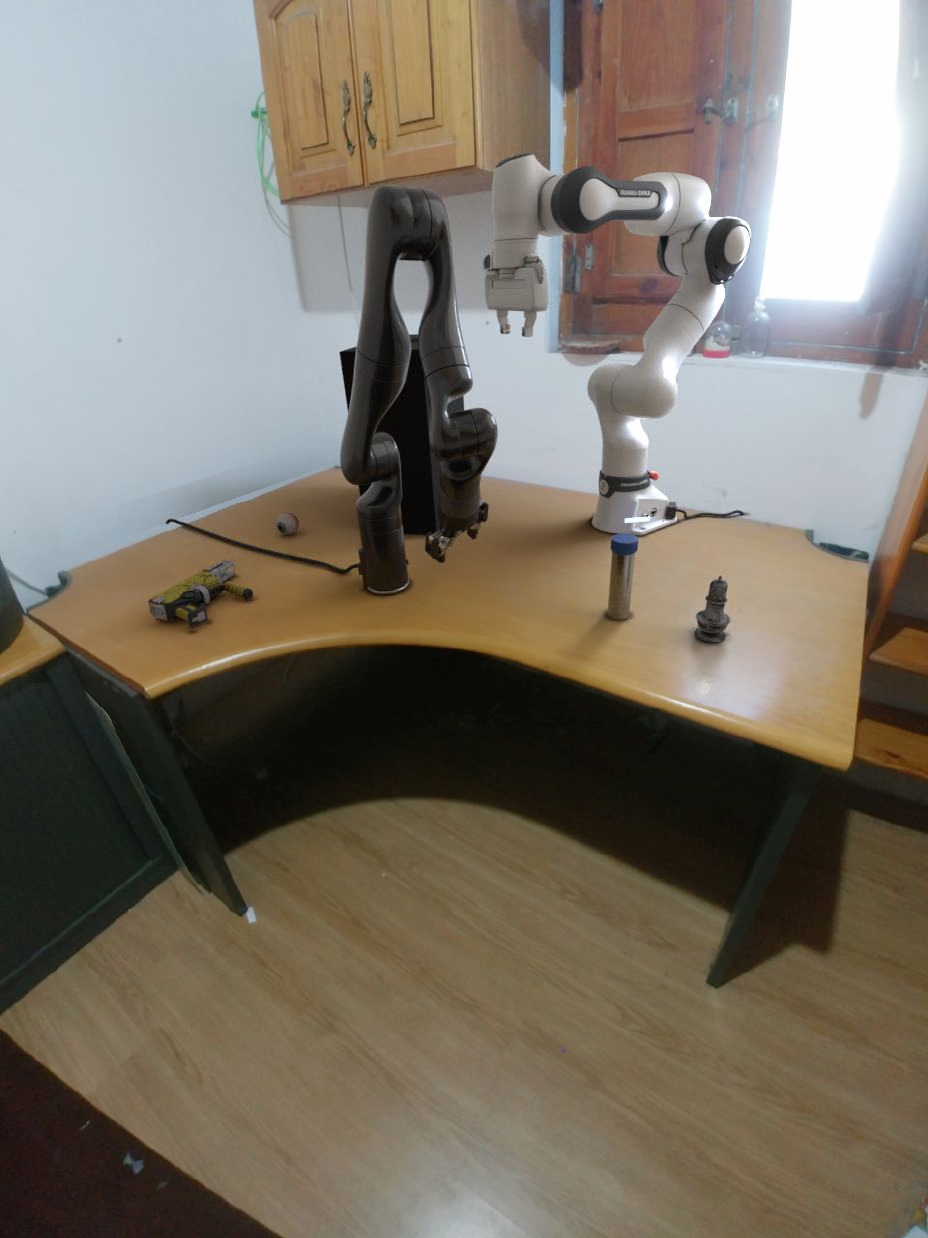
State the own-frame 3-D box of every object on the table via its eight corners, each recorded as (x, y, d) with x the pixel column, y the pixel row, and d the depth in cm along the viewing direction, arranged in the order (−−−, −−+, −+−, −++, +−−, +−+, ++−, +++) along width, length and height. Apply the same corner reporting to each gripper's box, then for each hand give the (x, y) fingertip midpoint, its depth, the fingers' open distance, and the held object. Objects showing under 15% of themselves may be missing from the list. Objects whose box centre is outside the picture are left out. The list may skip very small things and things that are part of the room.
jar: (604, 610, 120) (609, 537, 112) (624, 608, 121) (630, 535, 113) (612, 621, 117) (618, 546, 109) (632, 618, 117) (640, 543, 109)
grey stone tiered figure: (729, 644, 107) (742, 583, 101) (695, 641, 108) (705, 582, 102) (724, 627, 112) (735, 568, 106) (691, 625, 113) (700, 567, 107)
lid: (606, 546, 113) (607, 534, 112) (631, 543, 114) (632, 531, 113) (616, 556, 109) (617, 544, 108) (641, 553, 110) (643, 541, 109)
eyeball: (273, 537, 164) (268, 516, 161) (287, 528, 169) (282, 508, 166) (291, 539, 161) (286, 518, 158) (305, 530, 166) (301, 510, 163)
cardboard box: (436, 534, 159) (422, 349, 137) (364, 531, 164) (339, 351, 141) (468, 489, 191) (460, 332, 168) (407, 487, 195) (391, 335, 173)
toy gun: (275, 568, 138) (221, 556, 142) (203, 614, 118) (142, 599, 122) (277, 586, 140) (223, 575, 144) (207, 635, 120) (146, 620, 124)
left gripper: (474, 466, 111) (469, 517, 125) (414, 507, 106) (416, 555, 121) (502, 491, 108) (494, 540, 123) (442, 535, 104) (441, 580, 119)
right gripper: (557, 254, 111) (556, 336, 118) (505, 258, 127) (506, 331, 134) (528, 255, 109) (527, 339, 116) (478, 260, 125) (481, 333, 132)
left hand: (455, 548), depth 122 cm, fingers open, 8 cm apart
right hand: (516, 335), depth 125 cm, fingers open, 8 cm apart
